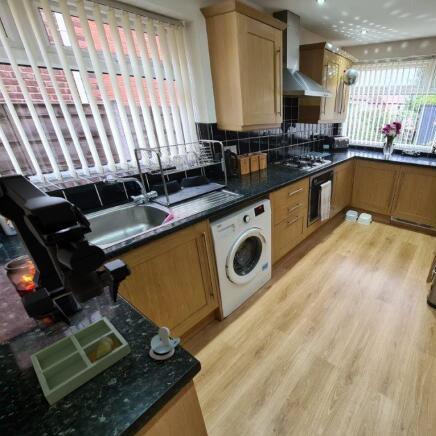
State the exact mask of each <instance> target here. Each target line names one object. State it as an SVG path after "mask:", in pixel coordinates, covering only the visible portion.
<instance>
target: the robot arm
mask: <svg viewBox="0 0 436 436" xmlns="http://www.w3.org/2000/svg"><path fill="white" fill-rule="evenodd" d="M0 217H3V218H4V219H6V220H7V221H9V222H10V223H11V225H12V227H13V230H14V231H15V232H16V234H17V237H18V238H19V241H20V242H21V244H22V246H23V248H24V250H25V253H27V256H28V257H29V258H28V259H29V260H30V261H31V264H32V265H33V267H34V269H35V271H34V274H33V277H32V279H31V281H32V283H33V285H34V287H33V288H32V292H30V293H27V294H23V296H22V297H21V298H20V301H21V304H22V306H23V309H24V310H25V312H26V314H27V316H28V317H29V319H35V318H37V317H38V316H39V317H41V318H42V317H45V316H51V318H52V320H53V321H54V323H57V322H59V321H61V322H62V323H64V324H65V325H67V326H71V325H72V324H71V321H70V319H69V318H68V317H70V316H71V315H73V314H76V313H78V312H80V311H81V310H83V308H82V306H81V304H84V303H87V302H88V301H90V300H92V299H94V298H97V297H101V296H102V295H103V294H104V293H105V288H108V292H109V296H110V299H111V301H112V302H113V303H114V304H115V303H117V299H118V292H119V287H120V286H121V283H122V282H124V281H125V280H126V279H127V277H130V276H131V275H132V270H131V268H130V265H129V264H128V263H126V262H125V261H123V260H122V259H120V258H117V259H115V260H112V261H110V262H107V263H105V261H106V256H107V255H106V252H105V250H103V248H102V247H100V246H98V245H96V244H94V243H92V242H90V241H89V240H88V239H87V238H86V237H85V235H88V234H90V233H93V231H92V228H91V222H90V221H89V219H88V218H87V217H86V216H85V214H84V213H83V212H82V210H81V209H80V208H79V207H77V205H76V204H74V203H71V202H70V201H68V200H66V199H65V198H63V197H60V196H59V197H58V196H50V195H48V194H47V193H45V192H44V191H43V190H42V189H40V188H39V187H38V186H36V185H35V184H34V183H33V181H32V180H31V179H30V178H29V176H28V175H27V174H22V173H17V174H10V175H9V174H8V175H3V176H0ZM78 225H79V226H78ZM102 266H103V269H101V270H100V268H101V267H102Z"/></svg>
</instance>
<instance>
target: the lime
mask: <svg viewBox="0 0 436 436" xmlns="http://www.w3.org/2000/svg"><path fill="white" fill-rule="evenodd" d="M112 349H113V341H112V339H110V338H109V337H104V336H103V337H101V338H100V339H99V342H98V346H97V351H96V358H95V359H96V360H100V359H101V358H103V357H104V356H106V355H108V354H109V353H111V352H112Z"/></svg>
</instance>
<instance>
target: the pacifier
mask: <svg viewBox="0 0 436 436" xmlns="http://www.w3.org/2000/svg"><path fill="white" fill-rule="evenodd" d="M157 333H158V334H156V335H154V336H153V337H152V338H151V341H150V347H151V348H150V350H149V352H148V354H149V356H150V357H151V358H152V359H154V360H156V361H163V360H167V359H169V358H171V357H172V356H173V355H174V353H175V348H176V347H177V346H178V345H179V343H180V341H181V338H180V337H174V338H170V329H169V328H168V327H166V326H162V327H160V328H159V329H158V330H157ZM172 339H173V340H172ZM154 352H155V353H154ZM156 353H157V354H156ZM166 353H167V354H166ZM158 354H164V355H158Z"/></svg>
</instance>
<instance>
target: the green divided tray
mask: <svg viewBox="0 0 436 436" xmlns="http://www.w3.org/2000/svg"><path fill="white" fill-rule="evenodd" d="M103 336H104V337H109V338H110V339H112V341H113V349H112V352H111V353H109V354H108V355H106V356H104V357H103V358H101V359H100V360H96V359H95V358H96V351H97V346H98V342H99V339H100V338H101V337H103ZM130 353H132V350H131V347H130V345H129V343H128V342H127V340H125V338H124V337H123V335H121V334H120V332H119V331H118V330H117V329H116V328H115V326H114V325H113V324H112V323H111V321H109V319H108V318H107V317H106V316H103V317H101V318H99V319H97V320H96V321H94V322H92V323H90V324H88V325H86V326H84V327H82V328H80V329H78V330H76V331H74V332H73V333H70V334H69V335H67V336H65V337H63V338H61V339H60V340H57V341H55V342H54V343H52V344H50V345H48V346H46V347H44V348H42V349H40V350H38V351H36V352H35V353H33V354H31V355H29V359H30V361H31V364H32V366H33V369H34V372H35V374H36V377H37V380H38V382H39V385H40V388H41V389H42V393H43V396H44V397H45V399H46V401H47V402H48V404H49V406H53V405H54V404H56V403H57V402H58V401H60V400H62V399H63V398H64V397H66V396H67V395H69V394H70V393H72V392H74V391H75V390H76V389H78V388H80V387H81V386H83V385H84V384H86V383H87V382H89V381H90V380H91V379H93V378H94V377H96V376H98V375H99V374H101V373H102V372H104V371H105V370H106V369H108V368H110V367H112V366H113V365H114V364H116V363H117V362H119V361H121V360H122V359H123V358H124V357H126V356H128V355H129V354H130Z"/></svg>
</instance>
